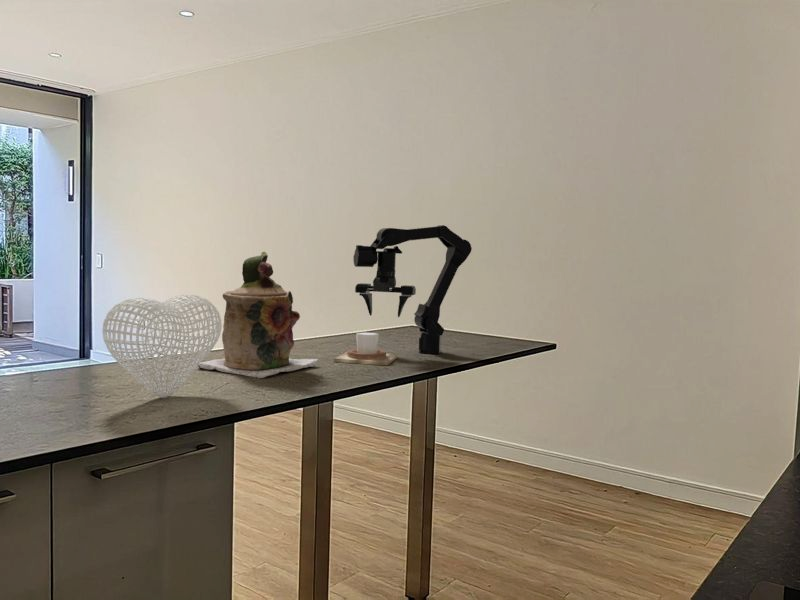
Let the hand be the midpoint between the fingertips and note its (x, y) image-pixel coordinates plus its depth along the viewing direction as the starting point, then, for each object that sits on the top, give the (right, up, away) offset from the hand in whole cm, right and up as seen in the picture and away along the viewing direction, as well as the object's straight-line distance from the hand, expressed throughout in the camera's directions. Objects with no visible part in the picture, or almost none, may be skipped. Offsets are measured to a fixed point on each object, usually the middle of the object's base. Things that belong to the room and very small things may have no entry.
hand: (384, 316), depth 228 cm
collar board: (-5, -13, -13) cm, 19 cm away
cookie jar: (-34, -14, -32) cm, 49 cm away
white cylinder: (-5, -12, -13) cm, 18 cm away
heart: (-47, -16, -72) cm, 88 cm away
